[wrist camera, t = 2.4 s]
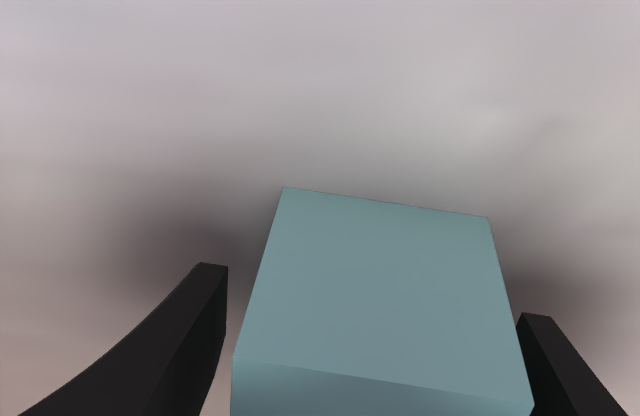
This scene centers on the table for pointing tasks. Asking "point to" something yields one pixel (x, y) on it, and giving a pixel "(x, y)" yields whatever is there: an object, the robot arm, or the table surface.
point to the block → (377, 316)
